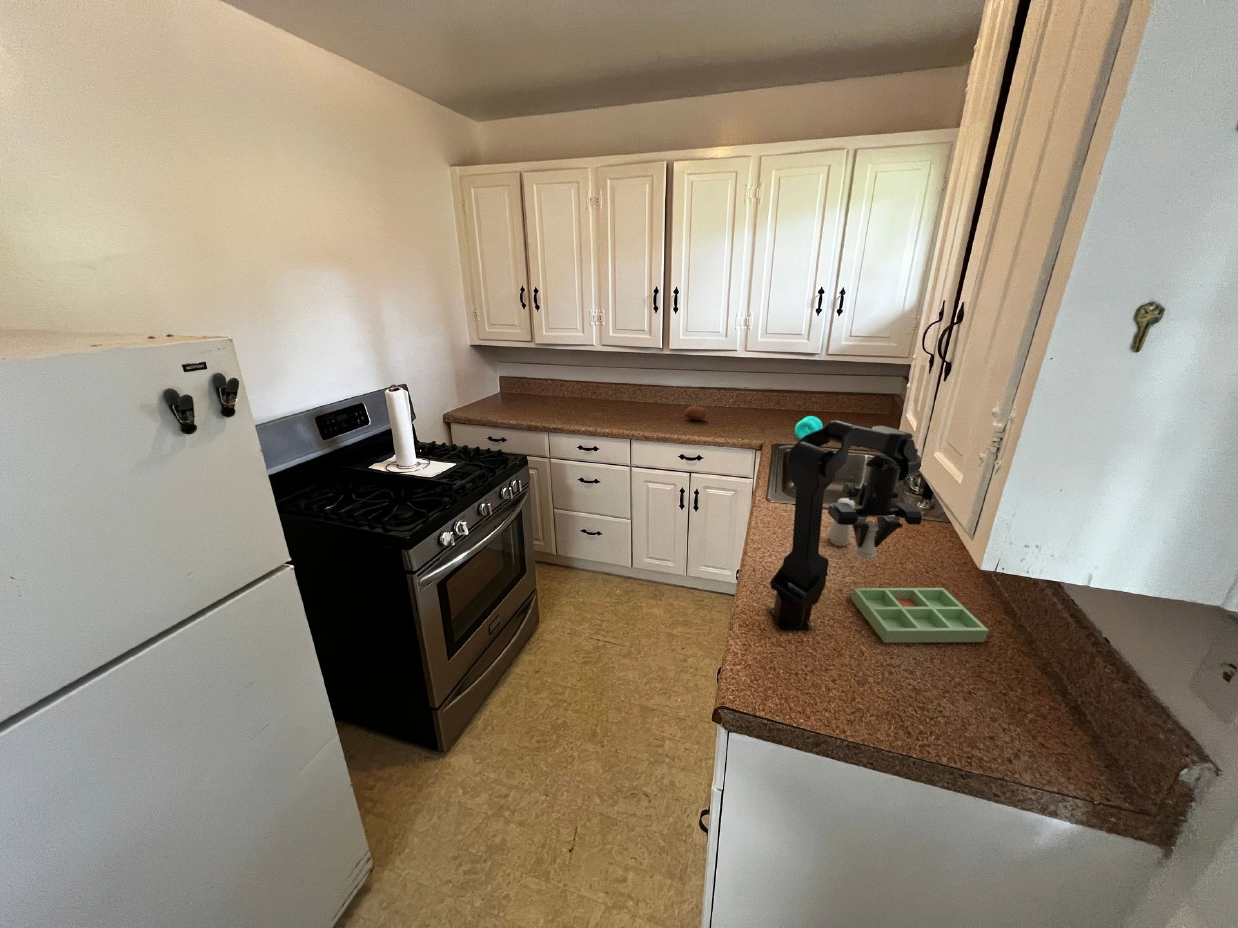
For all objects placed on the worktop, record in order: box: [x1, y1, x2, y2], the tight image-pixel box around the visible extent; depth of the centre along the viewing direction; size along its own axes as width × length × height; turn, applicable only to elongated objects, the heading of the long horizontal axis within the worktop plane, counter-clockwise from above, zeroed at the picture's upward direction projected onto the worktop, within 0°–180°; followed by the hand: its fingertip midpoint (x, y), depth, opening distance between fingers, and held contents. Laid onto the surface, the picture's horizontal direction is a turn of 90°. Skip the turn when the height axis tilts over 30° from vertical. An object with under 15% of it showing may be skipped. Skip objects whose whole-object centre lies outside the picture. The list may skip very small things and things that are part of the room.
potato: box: [684, 405, 707, 422], centre depth 243 cm, size 8×11×8 cm
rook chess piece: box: [854, 520, 879, 559], centre depth 109 cm, size 4×4×8 cm
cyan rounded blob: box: [794, 415, 824, 441], centre depth 216 cm, size 10×10×10 cm
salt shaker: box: [827, 497, 856, 547], centre depth 130 cm, size 6×6×13 cm
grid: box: [850, 587, 989, 644], centre depth 102 cm, size 21×14×3 cm
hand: (866, 546), depth 110 cm, fingers closed on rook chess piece, 3 cm apart
